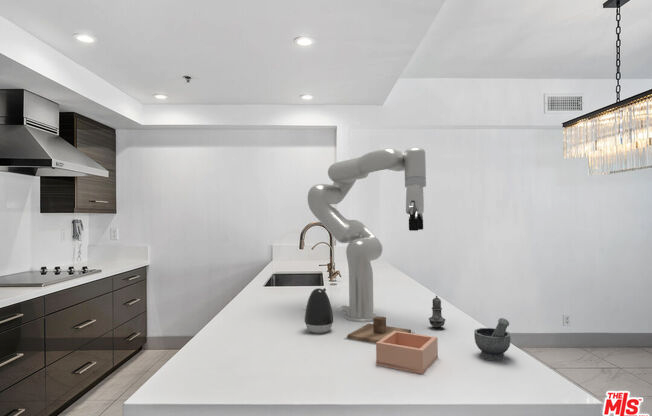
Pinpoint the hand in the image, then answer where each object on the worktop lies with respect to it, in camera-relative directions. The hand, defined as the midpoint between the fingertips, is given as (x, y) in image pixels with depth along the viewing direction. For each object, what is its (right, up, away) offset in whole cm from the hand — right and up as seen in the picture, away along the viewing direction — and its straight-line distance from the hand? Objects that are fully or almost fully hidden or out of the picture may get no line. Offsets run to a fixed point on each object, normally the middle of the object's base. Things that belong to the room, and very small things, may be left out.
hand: (416, 230), depth 144 cm
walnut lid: (-15, -35, -11) cm, 39 cm away
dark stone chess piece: (+7, -35, -3) cm, 36 cm away
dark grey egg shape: (-35, -36, -4) cm, 50 cm away
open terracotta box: (-10, -35, -34) cm, 49 cm away
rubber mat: (-15, -35, -11) cm, 40 cm away
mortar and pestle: (+15, -35, -32) cm, 49 cm away
